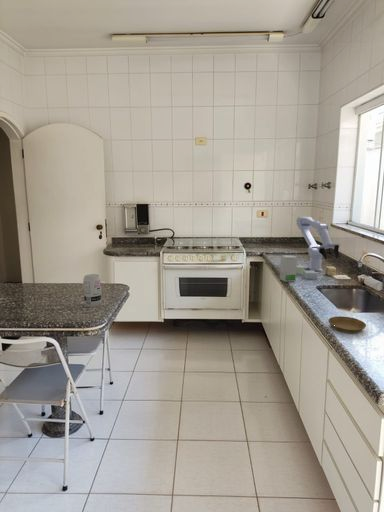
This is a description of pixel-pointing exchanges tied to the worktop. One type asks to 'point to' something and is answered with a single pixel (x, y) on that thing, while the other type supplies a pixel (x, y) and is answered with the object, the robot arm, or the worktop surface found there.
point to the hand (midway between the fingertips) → (331, 257)
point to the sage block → (300, 270)
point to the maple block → (330, 271)
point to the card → (341, 277)
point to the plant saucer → (347, 324)
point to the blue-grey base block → (310, 274)
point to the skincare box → (288, 268)
